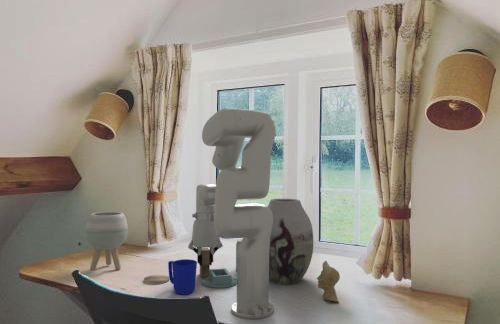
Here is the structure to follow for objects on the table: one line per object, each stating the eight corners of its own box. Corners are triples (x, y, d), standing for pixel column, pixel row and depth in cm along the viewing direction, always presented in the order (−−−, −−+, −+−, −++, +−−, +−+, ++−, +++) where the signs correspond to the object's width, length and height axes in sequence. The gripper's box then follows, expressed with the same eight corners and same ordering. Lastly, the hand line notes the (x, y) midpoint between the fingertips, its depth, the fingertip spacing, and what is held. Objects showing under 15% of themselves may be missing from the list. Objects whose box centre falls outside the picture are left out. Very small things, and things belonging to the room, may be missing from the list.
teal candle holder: (241, 286, 133) (241, 276, 133) (205, 289, 129) (205, 279, 129) (232, 275, 145) (232, 266, 145) (199, 278, 141) (199, 268, 141)
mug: (178, 284, 134) (178, 256, 134) (201, 291, 127) (202, 262, 127) (159, 289, 128) (159, 260, 128) (182, 298, 120) (183, 266, 120)
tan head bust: (338, 305, 115) (339, 266, 115) (315, 303, 117) (315, 264, 117) (339, 296, 123) (340, 260, 123) (318, 294, 125) (318, 258, 125)
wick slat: (209, 276, 143) (209, 250, 143) (201, 277, 142) (202, 250, 142) (207, 273, 148) (207, 247, 148) (199, 273, 147) (200, 248, 147)
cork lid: (170, 284, 135) (170, 280, 135) (144, 286, 133) (144, 282, 133) (168, 276, 144) (168, 273, 144) (143, 278, 141) (143, 275, 141)
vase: (263, 290, 128) (264, 203, 129) (250, 273, 149) (251, 197, 149) (321, 287, 132) (322, 202, 133) (301, 270, 153) (302, 197, 154)
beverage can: (249, 272, 150) (250, 242, 151) (234, 271, 152) (234, 241, 152) (252, 267, 157) (253, 239, 157) (237, 266, 158) (238, 238, 158)
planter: (109, 261, 164) (110, 210, 164) (135, 266, 156) (136, 213, 156) (76, 270, 150) (77, 214, 151) (102, 276, 142) (103, 217, 142)
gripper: (185, 218, 138) (184, 268, 138) (229, 217, 142) (228, 265, 142) (183, 215, 145) (182, 263, 145) (224, 214, 150) (224, 260, 149)
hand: (205, 264), depth 144 cm, fingers open, 3 cm apart
